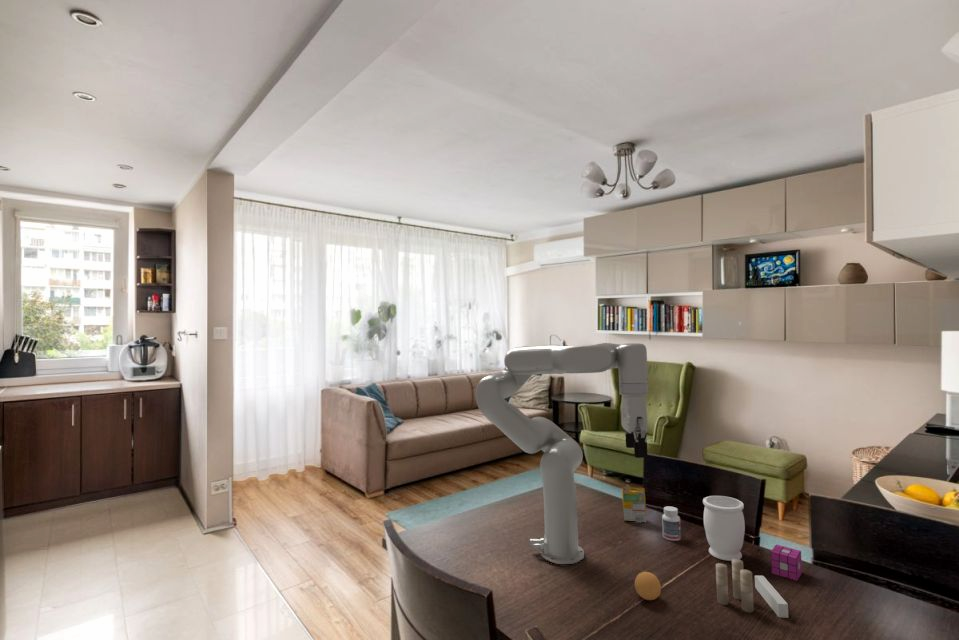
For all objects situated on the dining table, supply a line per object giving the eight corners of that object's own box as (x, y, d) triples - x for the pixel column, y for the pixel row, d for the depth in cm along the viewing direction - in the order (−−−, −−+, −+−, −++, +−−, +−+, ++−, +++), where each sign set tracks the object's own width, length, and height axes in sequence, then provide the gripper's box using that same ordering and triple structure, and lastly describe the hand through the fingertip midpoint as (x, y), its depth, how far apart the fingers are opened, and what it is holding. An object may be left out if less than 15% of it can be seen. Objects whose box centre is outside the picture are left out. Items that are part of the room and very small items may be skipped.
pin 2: (744, 612, 106) (742, 574, 107) (739, 605, 109) (738, 569, 109) (755, 612, 106) (753, 575, 106) (750, 606, 108) (749, 569, 109)
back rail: (778, 617, 104) (778, 603, 104) (755, 587, 116) (754, 575, 116) (788, 617, 104) (787, 604, 104) (763, 587, 116) (763, 575, 116)
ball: (637, 604, 111) (636, 579, 111) (633, 590, 116) (632, 566, 117) (664, 606, 110) (663, 580, 110) (658, 591, 116) (657, 567, 116)
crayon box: (645, 519, 158) (644, 485, 159) (646, 523, 156) (645, 488, 156) (623, 518, 160) (621, 484, 160) (623, 521, 157) (622, 487, 157)
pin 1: (735, 599, 111) (734, 563, 112) (731, 593, 114) (730, 558, 114) (746, 599, 111) (744, 563, 111) (742, 594, 113) (740, 559, 114)
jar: (730, 567, 126) (727, 511, 126) (696, 551, 135) (694, 499, 135) (754, 557, 131) (752, 503, 131) (720, 542, 140) (718, 492, 140)
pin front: (719, 604, 110) (717, 568, 110) (715, 598, 112) (714, 563, 112) (730, 605, 109) (728, 568, 109) (726, 599, 112) (724, 563, 112)
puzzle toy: (802, 572, 122) (801, 550, 123) (797, 581, 118) (796, 558, 118) (776, 565, 126) (775, 544, 127) (771, 573, 122) (770, 551, 122)
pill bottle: (682, 541, 142) (681, 512, 142) (664, 540, 143) (663, 511, 143) (678, 534, 147) (677, 505, 147) (661, 533, 148) (660, 505, 148)
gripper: (613, 385, 136) (615, 444, 135) (626, 393, 118) (629, 461, 118) (639, 384, 135) (642, 444, 135) (657, 393, 118) (660, 461, 117)
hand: (636, 452), depth 126 cm, fingers open, 9 cm apart
